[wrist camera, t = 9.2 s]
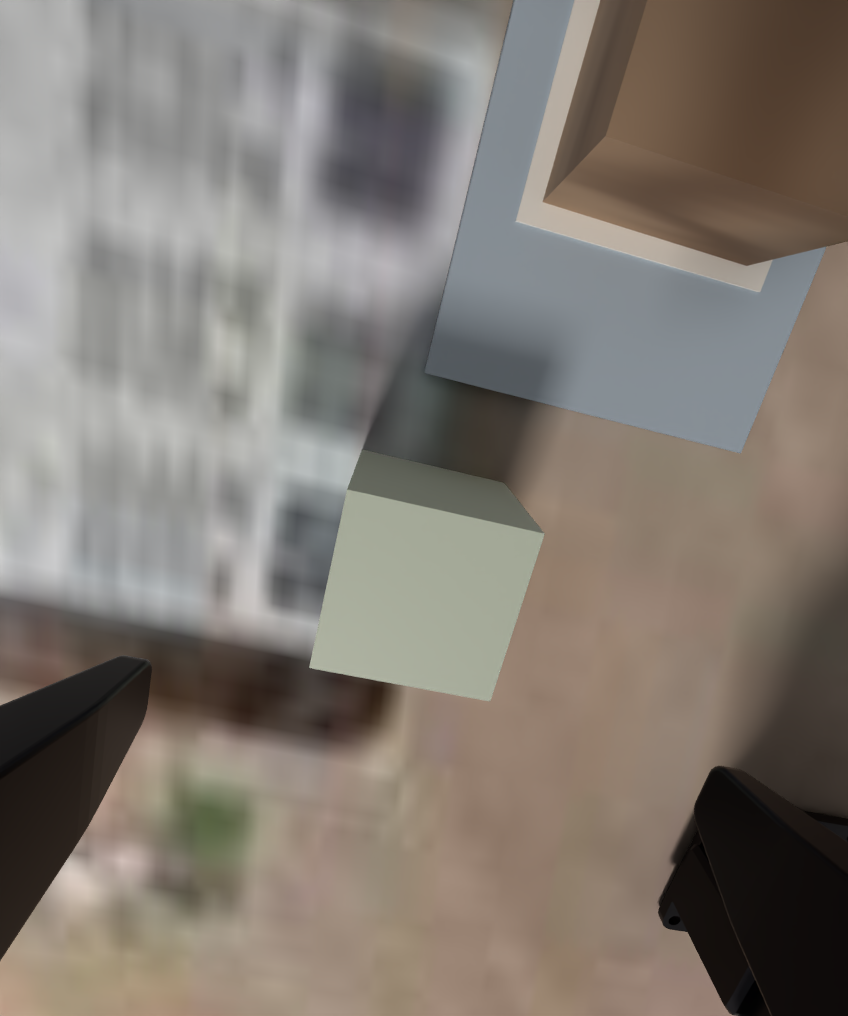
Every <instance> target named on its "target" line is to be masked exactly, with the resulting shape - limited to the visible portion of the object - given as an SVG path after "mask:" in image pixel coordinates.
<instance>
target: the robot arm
mask: <svg viewBox="0 0 848 1016" xmlns="http://www.w3.org/2000/svg"><path fill="white" fill-rule="evenodd" d="M151 672H152V667H151V663H150V662H149V661H148V660H146V659H141V658H135V657H130V656H119V657H116V658H114V659H111V660H109V661H106V662H104V663H102V664H99V665H97V666H94V667H92V668H90V669H87V670H85V671H82V672H80V673H78V674H75V675H73V676H70V677H68V678H66V679H63V680H61V681H58V682H56V683H54V684H51V685H49V686H46V687H44V688H42V689H39V690H37V691H34V692H32V693H29V694H27V695H25V696H22V697H20V698H17V699H15V700H13V701H10V702H8V703H5V704H3V705H1V706H0V960H1V959H2V957H3V956H4V954H5V953H6V951H7V950H8V948H9V947H10V945H11V944H12V942H13V941H14V939H15V938H16V936H17V935H18V933H19V932H20V930H21V929H22V927H23V925H24V924H25V922H26V921H27V919H28V918H29V916H30V915H31V913H32V912H33V910H34V909H35V907H36V906H37V904H38V903H39V901H40V900H41V898H42V897H43V895H44V894H45V892H46V891H47V889H48V887H49V886H50V884H51V883H52V881H53V880H54V878H55V877H56V875H57V874H58V872H59V871H60V869H61V868H62V866H63V865H64V863H65V862H66V860H67V859H68V857H69V856H70V854H71V853H72V851H73V849H74V848H75V846H76V845H77V843H78V842H79V840H80V838H81V837H82V835H83V834H84V832H85V830H86V829H87V827H88V826H89V824H90V822H91V820H92V818H93V816H94V815H95V813H96V811H97V809H98V807H99V805H100V803H101V801H102V799H103V798H104V796H105V794H106V792H107V790H108V788H109V786H110V784H111V782H112V780H113V778H114V777H115V775H116V773H117V771H118V769H119V767H120V765H121V763H122V761H123V759H124V757H125V755H126V754H127V752H128V750H129V748H130V746H131V744H132V742H133V740H134V738H135V736H136V734H137V733H138V731H139V729H140V727H141V725H142V722H143V720H144V717H145V714H146V710H147V705H148V697H149V688H150V680H151ZM694 818H695V822H696V825H697V828H698V830H697V832H696V834H695V836H694V838H693V840H692V842H691V844H690V846H689V848H688V850H687V852H686V854H685V856H684V859H683V861H682V863H681V865H680V867H679V869H678V871H677V873H676V875H675V877H674V879H673V881H672V883H671V885H670V887H669V889H668V891H667V893H666V895H665V898H664V900H663V902H662V904H661V906H660V908H659V911H658V914H659V917H660V919H661V921H662V923H663V925H664V926H665V927H666V928H668V929H671V930H678V931H685V932H688V934H689V936H690V938H691V940H692V942H693V944H694V946H695V948H696V950H697V952H698V954H699V956H700V958H701V960H702V962H703V964H704V966H705V968H706V970H707V972H708V974H709V976H710V978H711V980H712V982H713V984H714V986H715V988H716V990H717V992H718V994H719V996H720V998H721V1000H722V1002H723V1004H724V1006H725V1007H726V1009H727V1010H728V1012H729V1013H730V1014H732V1015H737V1016H848V819H844V818H839V817H833V816H827V815H822V814H816V813H810V812H805V811H801V810H800V809H798V808H797V807H796V806H794V805H793V804H791V803H790V802H788V801H787V800H785V799H784V798H782V797H781V796H779V795H778V794H777V793H775V792H774V791H772V790H771V789H769V788H768V787H766V786H765V785H763V784H762V783H760V782H759V781H757V780H756V779H755V778H753V777H752V776H750V775H749V774H747V773H746V772H744V771H742V770H739V769H735V768H729V767H724V766H716V767H714V768H713V769H712V770H711V771H710V773H709V775H708V777H707V779H706V781H705V783H704V785H703V787H702V790H701V792H700V794H699V796H698V798H697V800H696V802H695V806H694Z"/></svg>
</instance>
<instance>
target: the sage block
mask: <svg viewBox="0 0 848 1016" xmlns="http://www.w3.org/2000/svg"><path fill="white" fill-rule="evenodd" d="M543 537H544V532H543V531H542V530H541V528H540V527H539V526H538V525H537V523H536V522H535V521H534V520H533V518H532V517H531V516H530V515H529V513H528V512H527V511H526V510H525V508H524V507H523V506H522V505H521V503H520V502H519V501H518V500H517V498H516V497H515V496H514V495H513V493H512V492H511V491H510V489H509V488H508V487H507V486H506V484H505V483H503V482H499V481H495V480H491V479H486V478H482V477H478V476H473V475H469V474H465V473H461V472H456V471H452V470H448V469H444V468H439V467H435V466H431V465H426V464H422V463H418V462H414V461H409V460H405V459H401V458H396V457H392V456H388V455H384V454H379V453H375V452H371V451H367V450H362V451H361V454H360V457H359V459H358V462H357V465H356V467H355V470H354V473H353V475H352V478H351V481H350V483H349V486H348V489H347V493H346V498H345V502H344V507H343V512H342V517H341V521H340V526H339V531H338V535H337V540H336V545H335V549H334V554H333V559H332V563H331V568H330V573H329V577H328V582H327V587H326V592H325V596H324V601H323V606H322V610H321V615H320V620H319V624H318V629H317V634H316V638H315V643H314V648H313V652H312V657H311V662H310V667H309V668H313V669H318V670H324V671H329V672H334V673H340V674H345V675H350V676H356V677H361V678H367V679H372V680H377V681H383V682H388V683H393V684H399V685H404V686H410V687H415V688H420V689H426V690H431V691H437V692H442V693H447V694H453V695H458V696H463V697H469V698H474V699H480V700H485V701H490V700H491V697H492V694H493V691H494V688H495V685H496V682H497V679H498V676H499V673H500V670H501V666H502V663H503V660H504V657H505V654H506V651H507V648H508V645H509V642H510V639H511V636H512V633H513V630H514V627H515V623H516V620H517V617H518V614H519V611H520V608H521V605H522V602H523V599H524V596H525V593H526V590H527V587H528V583H529V580H530V577H531V574H532V571H533V568H534V565H535V562H536V559H537V556H538V553H539V550H540V547H541V544H542V540H543Z"/></svg>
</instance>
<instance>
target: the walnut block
mask: <svg viewBox="0 0 848 1016" xmlns="http://www.w3.org/2000/svg"><path fill="white" fill-rule="evenodd" d="M543 202H544V203H547V204H550V205H553V206H557V207H560V208H563V209H566V210H569V211H573V212H576V213H579V214H582V215H585V216H589V217H592V218H595V219H598V220H601V221H605V222H608V223H611V224H614V225H617V226H620V227H624V228H627V229H630V230H633V231H636V232H640V233H643V234H646V235H649V236H652V237H656V238H659V239H662V240H665V241H668V242H672V243H675V244H678V245H681V246H684V247H688V248H691V249H694V250H697V251H700V252H704V253H707V254H710V255H713V256H716V257H720V258H723V259H726V260H729V261H732V262H735V263H739V264H742V265H745V266H749V265H753V264H757V263H761V262H765V261H769V260H773V259H777V258H781V257H786V256H790V255H794V254H798V253H802V252H806V251H810V250H814V249H818V248H822V247H826V246H830V245H835V244H839V243H843V242H847V241H848V0H600V3H599V7H598V10H597V14H596V17H595V21H594V24H593V28H592V31H591V35H590V38H589V42H588V45H587V49H586V52H585V56H584V59H583V62H582V66H581V69H580V73H579V76H578V80H577V83H576V87H575V90H574V94H573V97H572V101H571V104H570V108H569V111H568V115H567V118H566V122H565V125H564V129H563V132H562V136H561V139H560V143H559V146H558V149H557V153H556V156H555V160H554V163H553V167H552V170H551V174H550V177H549V181H548V184H547V188H546V191H545V195H544V198H543Z"/></svg>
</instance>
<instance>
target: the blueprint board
mask: <svg viewBox="0 0 848 1016" xmlns="http://www.w3.org/2000/svg"><path fill="white" fill-rule="evenodd" d="M599 3H600V0H513V4H512V9H511V13H510V17H509V21H508V25H507V29H506V34H505V38H504V42H503V46H502V50H501V54H500V59H499V63H498V67H497V71H496V75H495V79H494V84H493V88H492V92H491V96H490V100H489V104H488V109H487V113H486V117H485V121H484V125H483V129H482V134H481V138H480V142H479V146H478V150H477V154H476V159H475V163H474V167H473V171H472V175H471V179H470V184H469V188H468V192H467V196H466V200H465V204H464V209H463V213H462V217H461V221H460V225H459V229H458V234H457V238H456V242H455V246H454V250H453V254H452V259H451V263H450V267H449V271H448V275H447V279H446V284H445V288H444V292H443V296H442V300H441V304H440V309H439V313H438V317H437V321H436V325H435V329H434V334H433V338H432V342H431V346H430V350H429V354H428V359H427V363H426V367H425V371H424V373H426V374H430V375H434V376H438V377H442V378H446V379H450V380H454V381H458V382H462V383H466V384H469V385H473V386H477V387H481V388H485V389H489V390H493V391H497V392H501V393H505V394H509V395H513V396H517V397H521V398H525V399H529V400H532V401H536V402H540V403H544V404H548V405H552V406H556V407H560V408H564V409H568V410H572V411H576V412H580V413H584V414H588V415H592V416H595V417H599V418H603V419H607V420H611V421H615V422H619V423H623V424H627V425H631V426H635V427H639V428H643V429H647V430H651V431H654V432H658V433H662V434H666V435H670V436H674V437H678V438H682V439H686V440H690V441H694V442H698V443H702V444H706V445H710V446H714V447H717V448H721V449H725V450H729V451H733V452H737V453H741V452H742V449H743V447H744V444H745V442H746V439H747V437H748V435H749V432H750V430H751V427H752V425H753V423H754V420H755V418H756V415H757V413H758V411H759V408H760V406H761V403H762V401H763V398H764V396H765V394H766V391H767V389H768V386H769V384H770V382H771V379H772V377H773V374H774V372H775V370H776V367H777V365H778V362H779V360H780V357H781V355H782V353H783V350H784V348H785V345H786V343H787V341H788V338H789V336H790V333H791V331H792V329H793V326H794V324H795V321H796V319H797V316H798V314H799V312H800V309H801V307H802V304H803V302H804V300H805V297H806V295H807V292H808V290H809V288H810V285H811V283H812V280H813V278H814V275H815V273H816V271H817V268H818V266H819V263H820V261H821V259H822V256H823V254H824V251H825V249H826V247H827V246H826V247H822V248H818V249H814V250H810V251H806V252H802V253H798V254H794V255H790V256H786V257H781V258H777V259H773V260H769V261H765V262H761V263H757V264H753V265H749V266H745V265H742V264H739V263H735V262H732V261H729V260H726V259H723V258H720V257H716V256H713V255H710V254H707V253H704V252H700V251H697V250H694V249H691V248H688V247H684V246H681V245H678V244H675V243H672V242H668V241H665V240H662V239H659V238H656V237H652V236H649V235H646V234H643V233H640V232H636V231H633V230H630V229H627V228H624V227H620V226H617V225H614V224H611V223H608V222H605V221H601V220H598V219H595V218H592V217H589V216H585V215H582V214H579V213H576V212H573V211H569V210H566V209H563V208H560V207H557V206H553V205H550V204H547V203H544V202H543V198H544V195H545V191H546V188H547V184H548V181H549V177H550V174H551V170H552V167H553V163H554V160H555V156H556V153H557V149H558V146H559V143H560V139H561V136H562V132H563V129H564V125H565V122H566V118H567V115H568V111H569V108H570V104H571V101H572V97H573V94H574V90H575V87H576V83H577V80H578V76H579V73H580V69H581V66H582V62H583V59H584V56H585V52H586V49H587V45H588V42H589V38H590V35H591V31H592V28H593V24H594V21H595V17H596V14H597V10H598V7H599Z"/></svg>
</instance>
